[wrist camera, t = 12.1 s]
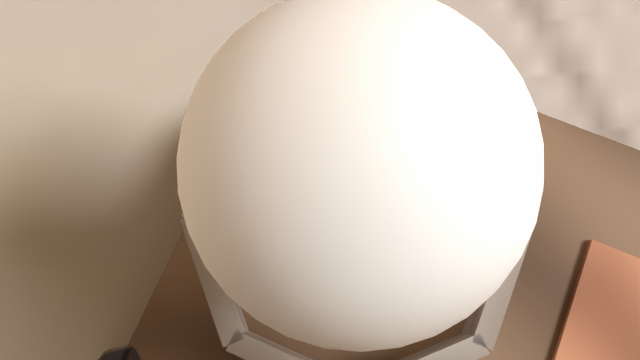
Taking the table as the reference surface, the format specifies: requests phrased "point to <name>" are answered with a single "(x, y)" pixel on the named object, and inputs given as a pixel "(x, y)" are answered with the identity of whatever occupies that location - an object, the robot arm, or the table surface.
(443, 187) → the lightbulb
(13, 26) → the table surface
